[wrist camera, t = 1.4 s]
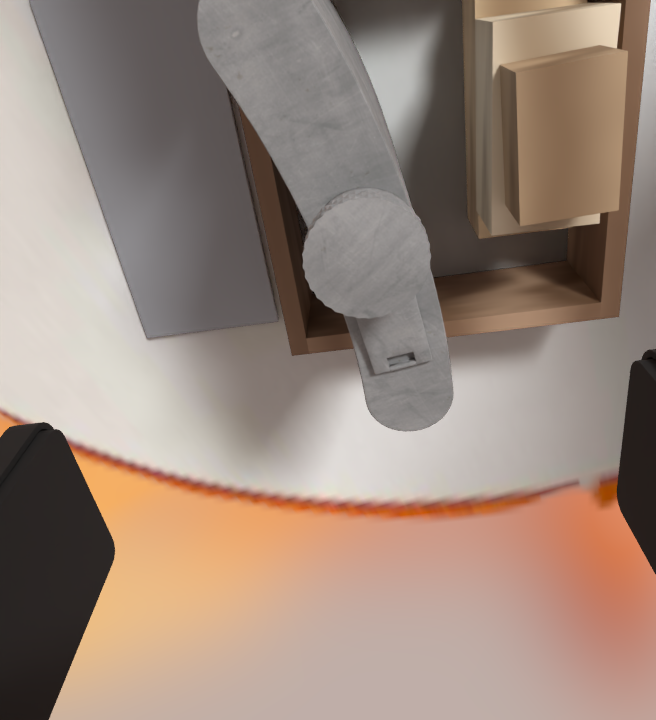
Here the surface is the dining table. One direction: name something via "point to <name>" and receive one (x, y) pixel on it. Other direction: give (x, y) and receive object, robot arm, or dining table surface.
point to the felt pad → (161, 160)
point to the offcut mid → (492, 48)
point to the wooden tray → (480, 289)
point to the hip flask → (340, 192)
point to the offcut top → (563, 133)
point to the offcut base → (475, 5)
